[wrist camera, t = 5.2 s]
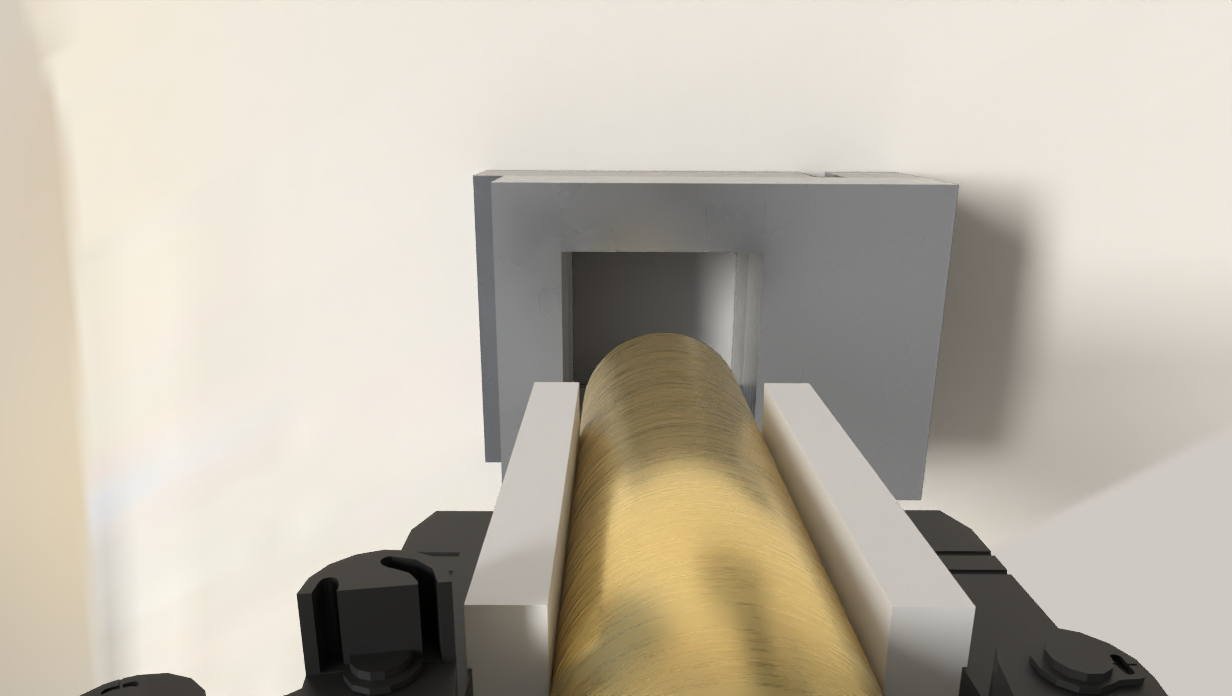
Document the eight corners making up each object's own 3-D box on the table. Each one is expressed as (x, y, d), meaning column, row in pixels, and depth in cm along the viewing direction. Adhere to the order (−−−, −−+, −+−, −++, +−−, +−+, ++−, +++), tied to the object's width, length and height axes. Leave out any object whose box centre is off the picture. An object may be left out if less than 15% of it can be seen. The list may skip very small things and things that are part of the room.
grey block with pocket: (496, 432, 25) (471, 497, 21) (486, 170, 23) (456, 182, 19) (870, 435, 25) (921, 499, 21) (895, 172, 23) (958, 184, 19)
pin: (744, 333, 16) (1491, 1533, 2) (737, 481, 17) (1252, 1997, 3) (582, 332, 16) (385, 1533, 2) (583, 481, 17) (444, 1994, 3)
